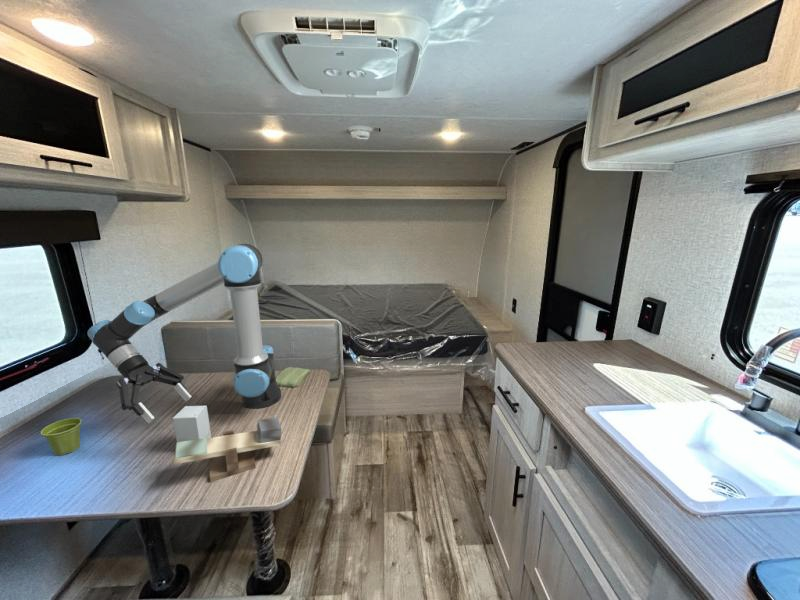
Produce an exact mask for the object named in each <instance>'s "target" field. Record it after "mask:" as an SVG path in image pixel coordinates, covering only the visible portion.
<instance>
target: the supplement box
mask: <svg viewBox="0 0 800 600" xmlns="http://www.w3.org/2000/svg"><path fill="white" fill-rule="evenodd" d="M172 423H173V428H174V433H175V438H176V443H177V442H183V441H190V440H196V439H203V438H212V432H211V426H210V425H211V424H210V420H209V412H208V406H207V405H185V406H184V407H183V408H182V409H181V410H180V411H178V413H177V414H175V415H174V416H173V417H172Z"/></svg>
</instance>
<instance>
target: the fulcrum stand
mask: <svg viewBox="0 0 800 600" xmlns="http://www.w3.org/2000/svg"><path fill="white" fill-rule="evenodd" d="M232 434H235V431H234V429H231V430H227V431H223V432H222V436H226V435H232ZM208 463H209V464H208V465H209V466H208V467H209V480H210V483H213V482H216V481H219V480H221V479H222V480H223V479H224V478H228V477H232V476H234V475H238V474H240V473H243V472H246V471H251V470H253V469H256V462H255V457H254V453H253V450H251V451H245V452H240V453H237V449H236V448H233V449H229V450H226V451H225V455H223V456H218V457H212V458H208Z"/></svg>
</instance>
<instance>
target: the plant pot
mask: <svg viewBox="0 0 800 600" xmlns="http://www.w3.org/2000/svg"><path fill="white" fill-rule="evenodd" d="M82 422H83V420H82V419H81V418H79V417H70V418H65V419H62V420H58V421H55V422H53V423H51V424H48V425H46V426H45V427H43V429H41V430H40V435H41V436H44V438H45V439H46V440H47V442H48V445H49V446H50V447H51V450H52V452H53V454H54V455H55V456H64V455H65V454H71V453H73V452H75V451H76V450H78V449H79V448H80V447H81V431H80V430H81V424H82Z"/></svg>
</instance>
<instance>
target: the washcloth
mask: <svg viewBox="0 0 800 600" xmlns="http://www.w3.org/2000/svg"><path fill="white" fill-rule="evenodd" d="M309 373H311V369H308V368H301V367H292V366H288V367H286V368H284V369H283V370H281V372H280V373H278V375H277V376H275V378H276V381H277V384H278V386H279V387H280V386H282V387H288V388H294V387H295V388H298V387H299V386H300V385H301V384H302V382H303V381H304V380H305V377H307V376H308V375H309ZM307 374H308V375H307ZM306 375H307V376H306ZM302 380H303V381H302Z"/></svg>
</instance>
